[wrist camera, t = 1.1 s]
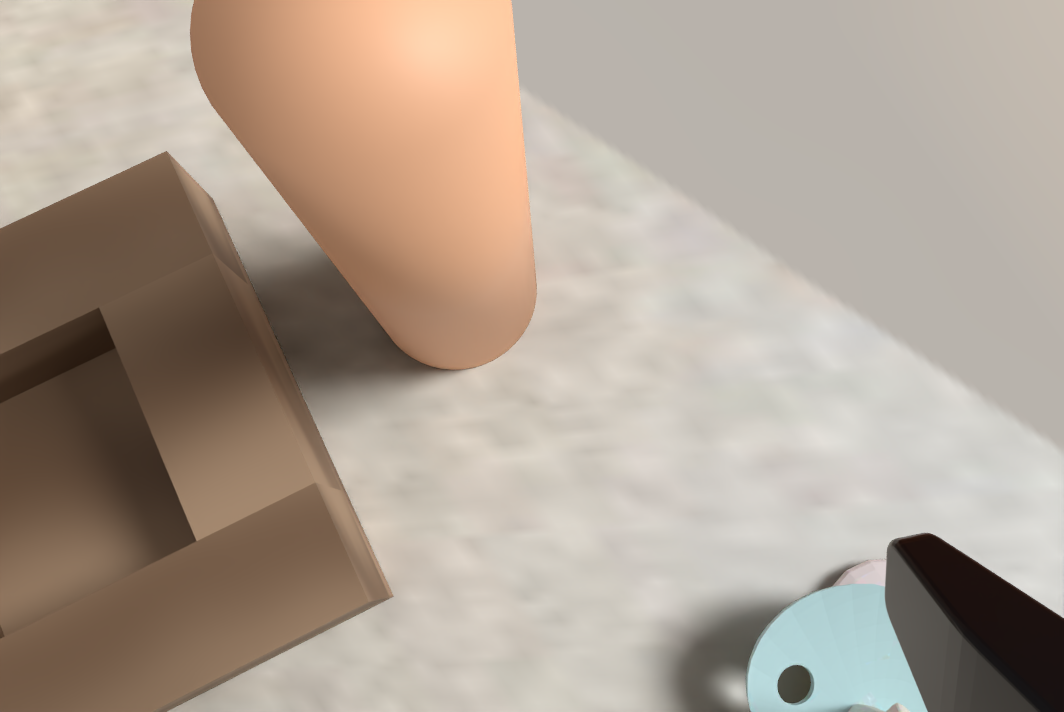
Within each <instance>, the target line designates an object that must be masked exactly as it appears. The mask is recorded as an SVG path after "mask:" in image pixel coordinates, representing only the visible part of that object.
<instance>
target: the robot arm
mask: <svg viewBox="0 0 1064 712" xmlns="http://www.w3.org/2000/svg"><path fill="white" fill-rule="evenodd" d="M885 604H886V609H887V613H888V616H889V619H890V621H891V624H892V626H893V629H894V631H895V634H896V636H897V639H898V641H899V643H900V646H901V648H902V651H903V653H904V656H905V658H906V660H907V663H908V665H909V668H910V670H911V673H912V675H913V677H914V680H915V682H916V685H917V687H918V690H919V692H920V694H921V697H922V699H923V702H924V704H925V707H926V709H927V711H928V712H1064V618H1063V617H1061V616H1059V615H1058V614H1056V613H1055V612H1053V611H1052V610H1050V609H1049V608H1047V607H1046V606H1044V605H1043V604H1041V603H1039V602H1038V601H1036V600H1035V599H1033V598H1032V597H1030V596H1029V595H1027V594H1026V593H1024V592H1022V591H1021V590H1019V589H1018V588H1016V587H1015V586H1013V585H1012V584H1010V583H1009V582H1007V581H1005V580H1004V579H1002V578H1001V577H999V576H998V575H996V574H995V573H993V572H992V571H990V570H988V569H987V568H985V567H984V566H982V565H981V564H979V563H978V562H976V561H975V560H973V559H972V558H970V557H968V556H967V555H965V554H964V553H962V552H961V551H959V550H958V549H956V548H955V547H953V546H951V545H950V544H948V543H947V542H945V541H944V540H942V539H941V538H939V537H937V536H936V535H933V534H930V533H921V534H916V535H911V536H906V537H902V538H897V539H894V540H892V541H891V542H890V543H889V545H888V548H887V558H886V577H885Z"/></svg>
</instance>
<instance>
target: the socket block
mask: <svg viewBox="0 0 1064 712" xmlns="http://www.w3.org/2000/svg"><path fill="white" fill-rule="evenodd" d="M391 597H393V594H392V592H391V590H390V588H389V585H388V583H387V581H386V579H385V577H384V574H383V572H382V570H381V568H380V566H379V563H378V561H377V559H376V557H375V555H374V552H373V550H372V548H371V546H370V544H369V541H368V539H367V537H366V535H365V533H364V530H363V528H362V526H361V524H360V522H359V519H358V517H357V515H356V513H355V511H354V508H353V506H352V504H351V502H350V500H349V497H348V495H347V493H346V491H345V489H344V486H343V484H342V482H341V480H340V478H339V475H338V473H337V471H336V469H335V467H334V464H333V462H332V460H331V458H330V456H329V453H328V451H327V449H326V447H325V445H324V442H323V440H322V438H321V436H320V434H319V431H318V429H317V427H316V425H315V423H314V420H313V418H312V416H311V414H310V412H309V409H308V407H307V405H306V403H305V401H304V398H303V396H302V394H301V392H300V390H299V387H298V385H297V383H296V381H295V379H294V376H293V374H292V372H291V370H290V368H289V365H288V363H287V361H286V359H285V357H284V354H283V352H282V350H281V348H280V346H279V343H278V341H277V339H276V337H275V335H274V332H273V330H272V328H271V326H270V324H269V321H268V319H267V317H266V315H265V313H264V310H263V308H262V306H261V304H260V302H259V299H258V297H257V295H256V293H255V291H254V288H253V286H252V284H251V282H250V280H249V277H248V275H247V273H246V271H245V269H244V266H243V264H242V262H241V260H240V258H239V255H238V253H237V251H236V249H235V247H234V244H233V242H232V240H231V238H230V236H229V233H228V231H227V229H226V227H225V225H224V222H223V220H222V218H221V216H220V214H219V211H218V209H217V207H216V205H215V203H214V200H213V199H212V198H211V197H210V196H209V194H208V193H207V192H206V191H205V190H204V189H203V188H202V187H201V186H200V185H199V184H198V183H197V182H196V181H195V180H194V179H193V178H192V177H191V176H190V175H189V174H188V173H187V172H186V171H185V170H184V169H183V168H182V167H181V166H180V164H179V163H178V162H177V161H176V160H175V159H174V158H173V157H172V156H171V155H170V154H169V153H168V152H167V151H166V152H164V153H161V154H159V155H157V156H155V157H153V158H151V159H149V160H146V161H144V162H142V163H140V164H138V165H136V166H134V167H131V168H129V169H127V170H125V171H123V172H121V173H119V174H116V175H114V176H112V177H110V178H108V179H106V180H104V181H101V182H99V183H97V184H95V185H93V186H91V187H89V188H86V189H84V190H82V191H80V192H78V193H76V194H74V195H71V196H69V197H67V198H65V199H63V200H61V201H59V202H56V203H54V204H52V205H50V206H48V207H46V208H44V209H41V210H39V211H37V212H35V213H33V214H31V215H29V216H26V217H24V218H22V219H20V220H18V221H16V222H14V223H11V224H9V225H7V226H5V227H3V228H1V229H0V712H166V711H168V710H170V709H172V708H174V707H176V706H178V705H180V704H182V703H184V702H186V701H188V700H190V699H192V698H194V697H196V696H198V695H200V694H202V693H204V692H206V691H208V690H210V689H212V688H214V687H216V686H218V685H220V684H222V683H224V682H226V681H228V680H230V679H232V678H233V677H235V676H237V675H239V674H241V673H243V672H245V671H247V670H249V669H251V668H253V667H255V666H257V665H259V664H261V663H263V662H265V661H267V660H269V659H271V658H273V657H275V656H277V655H279V654H281V653H283V652H285V651H287V650H289V649H291V648H293V647H295V646H297V645H299V644H301V643H302V642H304V641H306V640H308V639H310V638H312V637H314V636H316V635H318V634H320V633H322V632H324V631H326V630H328V629H330V628H332V627H334V626H336V625H338V624H340V623H342V622H344V621H346V620H348V619H350V618H352V617H354V616H356V615H358V614H360V613H362V612H364V611H366V610H368V609H370V608H372V607H373V606H375V605H377V604H379V603H381V602H383V601H385V600H387V599H389V598H391Z"/></svg>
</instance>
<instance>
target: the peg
mask: <svg viewBox="0 0 1064 712" xmlns="http://www.w3.org/2000/svg"><path fill="white" fill-rule="evenodd" d="M190 39H191V52H192V57H193V61H194V66H195V70H196V73H197V76H198V78H199V81H200V84H201V86H202V89H203V90H204V92H205V94H206V96H207V98H208V99H209V101H210V103H211V105H212V106H213V108H214V109H215V110H216V112H217V113H218V114H219V115H220V117H221V118H222V119H223V121H224V122H225V123H226V125H227V126H228V127H229V128H230V130H231V131H232V132H233V134H234V135H235V136H236V138H237V139H238V140H239V141H240V143H241V144H242V145H243V147H244V148H245V149H246V151H247V152H248V153H249V154H250V156H251V157H252V158H253V160H254V161H255V162H256V164H257V165H258V166H259V167H260V169H261V170H262V171H263V173H264V174H265V175H266V177H267V178H268V179H269V180H270V182H271V183H272V184H273V186H274V187H275V188H276V190H277V191H278V192H279V193H280V195H281V196H282V197H283V199H284V200H285V201H286V203H287V204H288V205H289V206H290V208H291V209H292V210H293V212H294V213H295V214H296V216H297V217H298V218H299V219H300V221H301V222H302V223H303V225H304V226H305V227H306V229H307V230H308V231H309V232H310V234H311V235H312V236H313V238H314V239H315V240H316V242H317V243H318V244H319V246H320V247H321V248H322V249H323V251H324V252H325V253H326V255H327V256H328V257H329V259H330V260H331V261H332V262H333V264H334V265H335V266H336V268H337V269H338V270H339V272H340V273H341V274H342V275H343V277H344V278H345V279H346V281H347V282H348V283H349V285H350V286H351V287H352V288H353V290H354V291H355V292H356V294H357V295H358V296H359V298H360V299H361V300H362V301H363V303H364V304H365V305H366V307H367V308H368V309H369V311H370V312H371V313H372V314H373V316H374V317H375V318H376V320H377V321H378V322H379V324H380V325H381V326H382V327H383V329H384V330H385V331H386V333H387V334H388V335H389V337H390V338H391V339H392V340H393V342H394V343H395V344H396V345H397V346H398V347H399V348H400V349H401V350H402V351H403V352H405V353H406V354H407V355H409V356H410V357H412V358H413V359H415V360H417V361H419V362H421V363H423V364H426V365H428V366H432V367H436V368H440V369H449V370H461V369H468V368H473V367H477V366H481V365H483V364H486V363H488V362H491V361H493V360H494V359H496V358H498V357H499V356H501V355H502V354H504V353H505V352H506V351H508V350H509V349H510V348H511V347H512V346H513V345H514V344H515V343H516V342H517V341H518V340H519V338H520V337H521V336H522V334H523V333H524V331H525V330H526V328H527V326H528V325H529V322H530V320H531V317H532V315H533V311H534V308H535V303H536V295H537V284H536V273H535V262H534V250H533V239H532V228H531V217H530V205H529V194H528V183H527V171H526V160H525V149H524V137H523V126H522V115H521V104H520V92H519V81H518V70H517V58H516V47H515V36H514V24H513V13H512V4H511V0H194V4H193V8H192V13H191V26H190Z"/></svg>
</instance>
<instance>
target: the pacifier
mask: <svg viewBox="0 0 1064 712" xmlns="http://www.w3.org/2000/svg"><path fill="white" fill-rule="evenodd" d="M885 577H886V559H876V560H867V561H865V562H863V563H861V564H859V565H856V566H854V567H852V568H850V569H848V570H846V571H845V572H844V573H843V574H842V575H841V577H840V578H839V579H838V580H837V581H836V582H835V584H834V585H833V586H832V587H828V588H825V589H821V590H818V591H814V592H812V593H810V594H808V595H806V596H804V597H802V598H800V599H798V600H796V601H794V602H793V603H792V604H790V605H789V606H787V607H786V608H784V609H783V610H782V611H781V612H780V613H779V614H778V615H777V616H776V617H775V618H774V619H773V620H772V621H771V622H770V623H769V624H768V625H767V626H766V628H765V629H764V630H763V632H762V633H761V635H760V636H759V638H758V639H757V641H756V643H755V646H754V648H753V651H752V653H751V655H750V658H749V662H748V667H747V673H746V692H747V698H748V703H749V707H750V711H751V712H928V711H927V709H926V707H925V704H924V702H923V699H922V697H921V694H920V692H919V690H918V687H917V685H916V682H915V680H914V677H913V675H912V673H911V670H910V668H909V665H908V663H907V660H906V658H905V656H904V653H903V651H902V648H901V646H900V643H899V641H898V639H897V636H896V634H895V631H894V629H893V626H892V624H891V621H890V619H889V616H888V613H887V609H886V604H885ZM792 665H801V666H803V667H804V668H805V669H806V670H807V671H808V673H809V675H810V678H811V687H810V690H809V693H808V695H807V696H806V697H805V698H804V699H803V700H801V701H799V702H797V703H786V702H784V701H783V700H782V699H781V698H780V695H779V693H778V689H777V683H778V679H779V677H780V675H781V673H782V672H783V671H784V670H785V669H786V668H788V667H789V666H792Z"/></svg>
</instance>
